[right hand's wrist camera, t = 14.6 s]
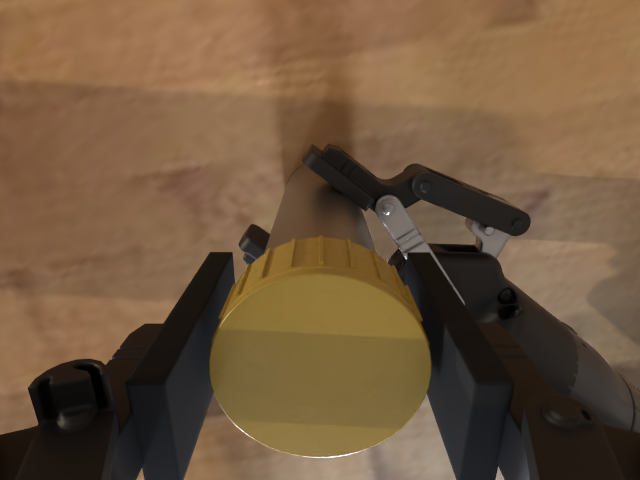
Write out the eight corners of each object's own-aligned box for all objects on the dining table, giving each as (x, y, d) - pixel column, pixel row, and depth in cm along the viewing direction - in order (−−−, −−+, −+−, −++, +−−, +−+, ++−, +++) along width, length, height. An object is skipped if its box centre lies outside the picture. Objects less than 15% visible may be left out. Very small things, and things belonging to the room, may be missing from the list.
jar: (275, 213, 27) (213, 397, 11) (299, 149, 26) (266, 255, 10) (338, 237, 28) (364, 444, 12) (365, 175, 26) (436, 316, 10)
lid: (418, 387, 13) (438, 450, 11) (245, 404, 13) (230, 469, 11) (409, 222, 11) (431, 257, 9) (207, 246, 12) (180, 286, 9)
